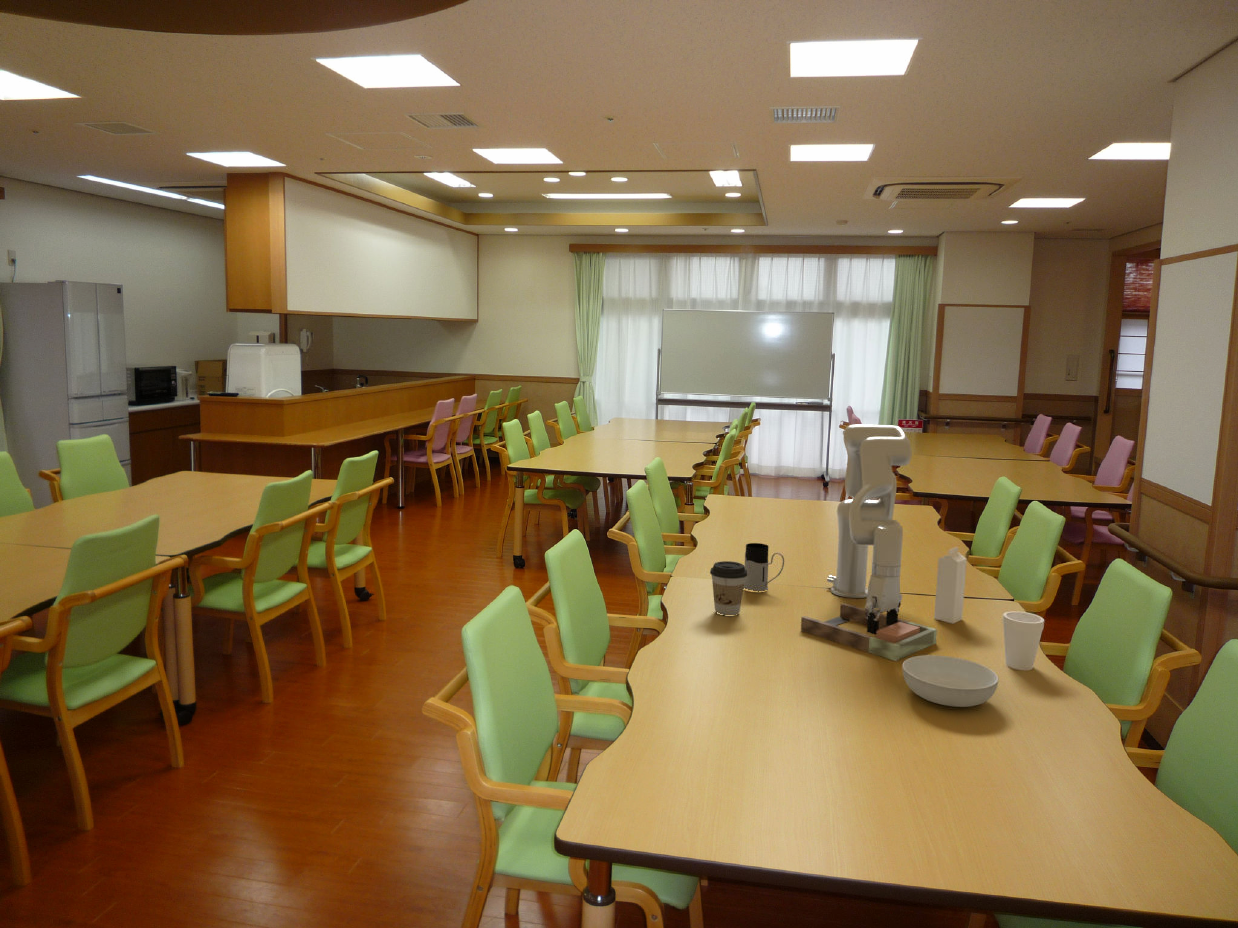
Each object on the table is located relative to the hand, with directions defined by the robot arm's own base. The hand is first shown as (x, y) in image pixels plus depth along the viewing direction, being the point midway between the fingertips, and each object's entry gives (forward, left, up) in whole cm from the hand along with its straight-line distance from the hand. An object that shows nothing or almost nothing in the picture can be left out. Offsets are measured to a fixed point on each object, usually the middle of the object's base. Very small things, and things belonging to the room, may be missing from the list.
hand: (882, 629), depth 229 cm
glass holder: (-52, +12, -4) cm, 53 cm away
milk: (+2, +33, -4) cm, 33 cm away
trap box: (-5, 0, -3) cm, 6 cm away
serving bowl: (+30, -22, -4) cm, 38 cm away
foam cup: (+32, +12, -4) cm, 35 cm away
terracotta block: (+5, 0, -4) cm, 6 cm away
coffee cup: (-44, -15, -4) cm, 46 cm away
